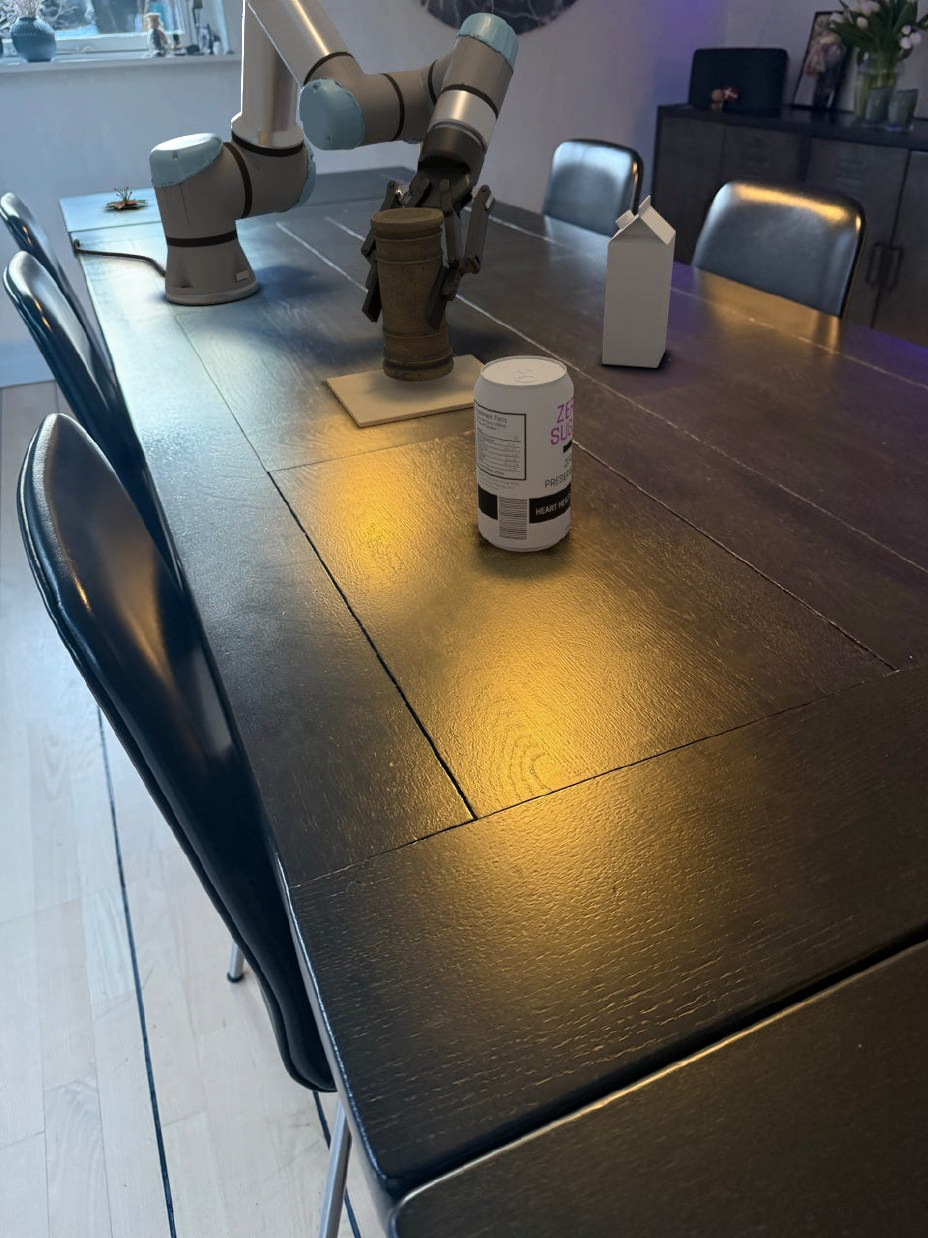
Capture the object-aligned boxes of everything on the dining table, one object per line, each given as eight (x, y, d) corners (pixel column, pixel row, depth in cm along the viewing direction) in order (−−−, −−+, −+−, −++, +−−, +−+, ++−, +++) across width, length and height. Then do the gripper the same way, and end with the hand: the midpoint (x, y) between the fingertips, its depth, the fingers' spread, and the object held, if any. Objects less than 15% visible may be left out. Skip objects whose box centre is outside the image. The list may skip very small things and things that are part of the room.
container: (446, 383, 107) (437, 222, 97) (373, 381, 109) (357, 222, 98) (461, 358, 114) (454, 205, 104) (393, 356, 116) (379, 205, 105)
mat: (326, 383, 114) (325, 378, 114) (471, 358, 120) (471, 354, 120) (359, 427, 102) (359, 422, 102) (520, 397, 108) (520, 393, 107)
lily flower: (143, 210, 218) (138, 190, 216) (94, 212, 219) (89, 192, 216) (157, 201, 228) (153, 181, 225) (111, 203, 228) (106, 183, 226)
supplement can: (474, 514, 84) (468, 356, 75) (561, 507, 84) (565, 350, 76) (483, 559, 77) (477, 391, 69) (577, 551, 78) (583, 384, 69)
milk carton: (665, 351, 119) (679, 195, 108) (656, 369, 114) (670, 207, 103) (612, 347, 121) (620, 194, 110) (601, 365, 116) (609, 206, 105)
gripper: (544, 168, 107) (489, 345, 104) (395, 163, 115) (341, 327, 112) (526, 124, 100) (467, 311, 97) (369, 121, 108) (311, 295, 105)
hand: (400, 319), depth 105 cm, fingers closed on container, 8 cm apart
